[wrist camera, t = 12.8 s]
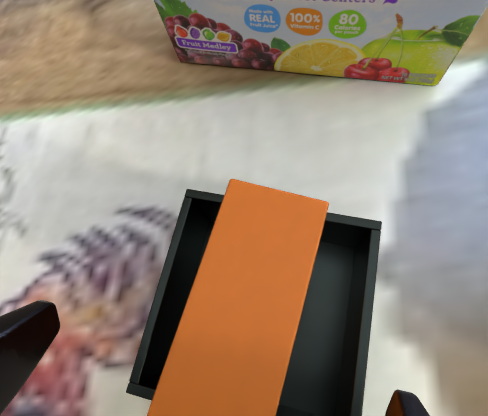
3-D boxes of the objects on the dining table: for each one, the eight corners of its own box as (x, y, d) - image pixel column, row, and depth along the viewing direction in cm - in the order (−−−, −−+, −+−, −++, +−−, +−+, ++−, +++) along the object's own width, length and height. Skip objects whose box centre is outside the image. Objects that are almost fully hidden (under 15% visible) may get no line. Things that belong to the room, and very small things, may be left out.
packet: (277, 387, 20) (257, 485, 7) (230, 369, 20) (139, 433, 8) (307, 272, 22) (329, 201, 9) (263, 259, 22) (230, 177, 10)
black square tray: (340, 430, 19) (356, 464, 14) (161, 378, 21) (125, 392, 16) (362, 243, 22) (382, 221, 18) (206, 215, 24) (186, 188, 20)
